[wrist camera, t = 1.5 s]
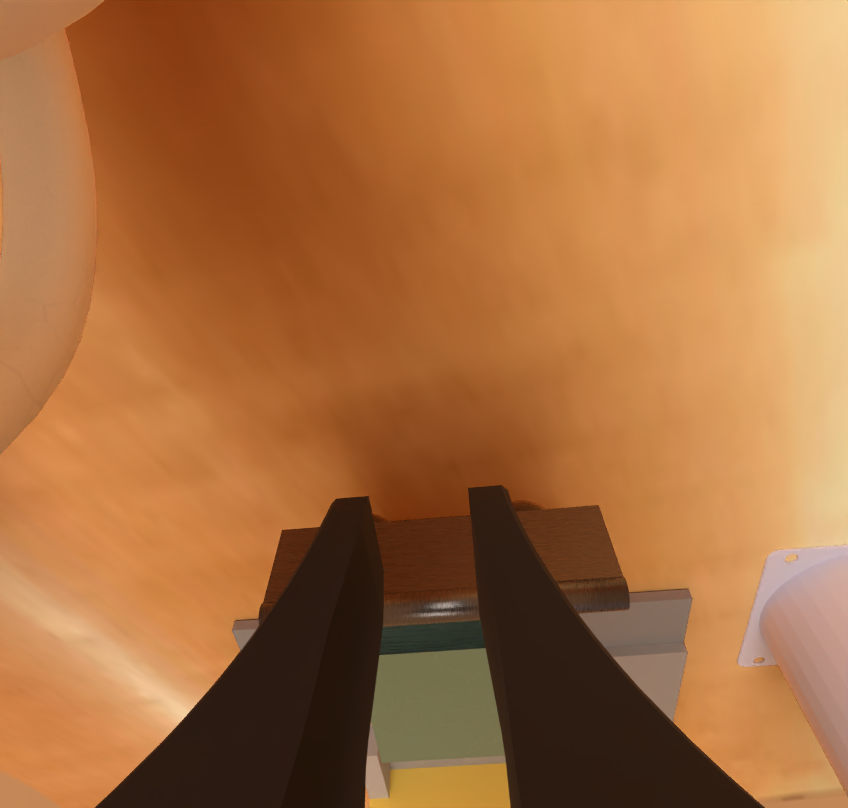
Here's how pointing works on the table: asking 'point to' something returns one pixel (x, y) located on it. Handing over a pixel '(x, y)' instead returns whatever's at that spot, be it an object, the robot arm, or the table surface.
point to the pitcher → (42, 206)
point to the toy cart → (456, 621)
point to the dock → (487, 776)
